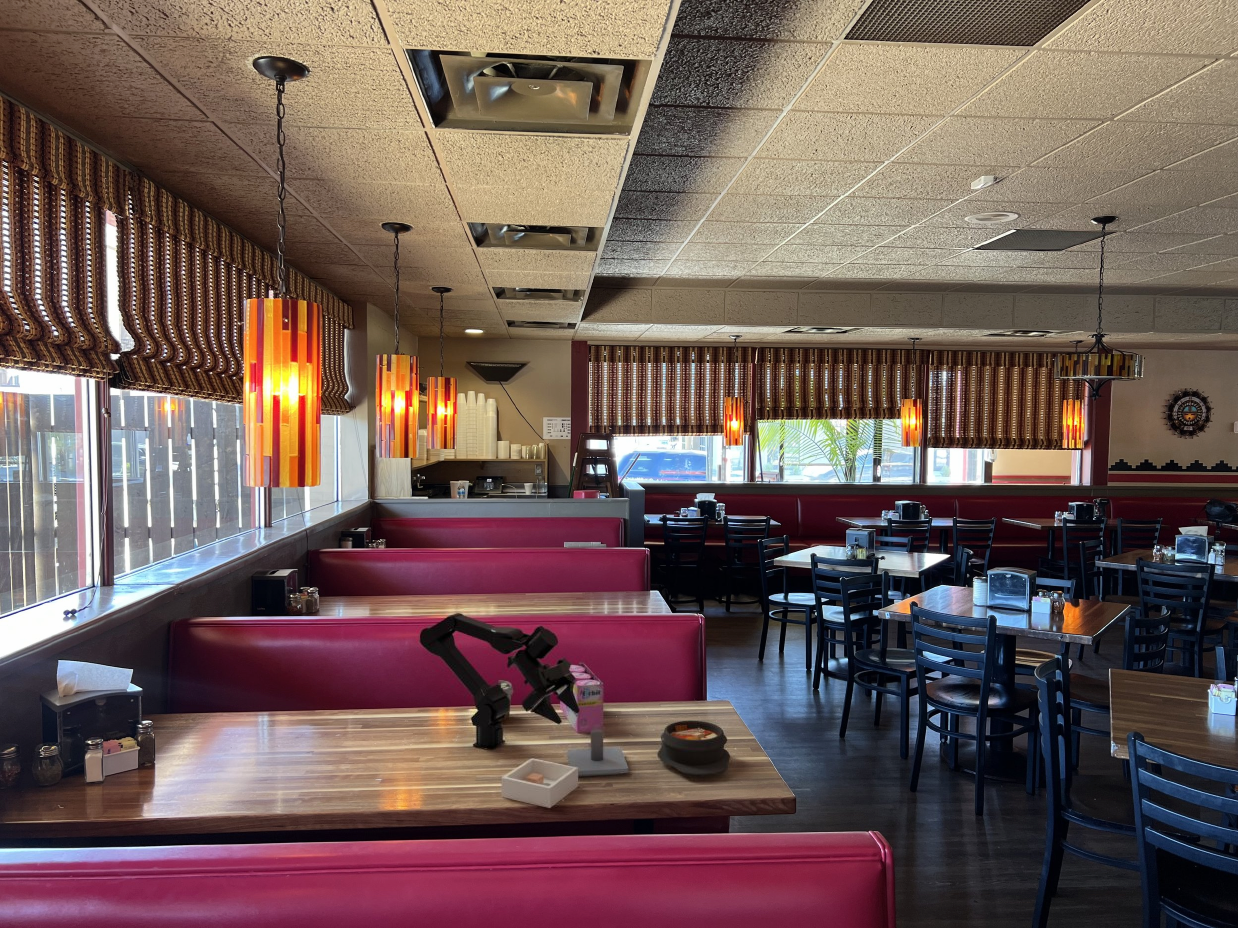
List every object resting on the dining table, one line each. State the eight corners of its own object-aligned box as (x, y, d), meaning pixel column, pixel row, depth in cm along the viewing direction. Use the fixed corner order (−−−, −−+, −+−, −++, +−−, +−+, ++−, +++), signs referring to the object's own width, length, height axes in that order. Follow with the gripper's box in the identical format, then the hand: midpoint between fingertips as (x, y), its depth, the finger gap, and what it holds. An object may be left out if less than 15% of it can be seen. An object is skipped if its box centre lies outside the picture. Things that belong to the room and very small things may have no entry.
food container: (505, 727, 240) (505, 693, 239) (484, 726, 241) (484, 691, 241) (518, 713, 252) (518, 680, 251) (499, 712, 253) (499, 679, 253)
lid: (571, 779, 204) (571, 742, 204) (567, 757, 218) (567, 722, 218) (628, 776, 206) (628, 739, 206) (620, 754, 220) (620, 720, 220)
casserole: (647, 746, 226) (647, 715, 225) (713, 742, 229) (714, 711, 229) (670, 785, 201) (670, 750, 201) (744, 779, 205) (745, 745, 204)
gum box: (558, 706, 258) (558, 663, 258) (583, 704, 261) (583, 661, 260) (577, 733, 235) (577, 685, 235) (604, 730, 238) (604, 683, 237)
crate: (501, 796, 194) (501, 777, 194) (531, 776, 206) (531, 757, 206) (549, 807, 188) (549, 788, 188) (578, 786, 200) (578, 767, 200)
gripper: (531, 659, 209) (570, 709, 204) (569, 642, 225) (606, 688, 221) (505, 686, 212) (543, 736, 208) (544, 667, 229) (580, 713, 224)
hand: (569, 717), depth 215 cm, fingers open, 9 cm apart
